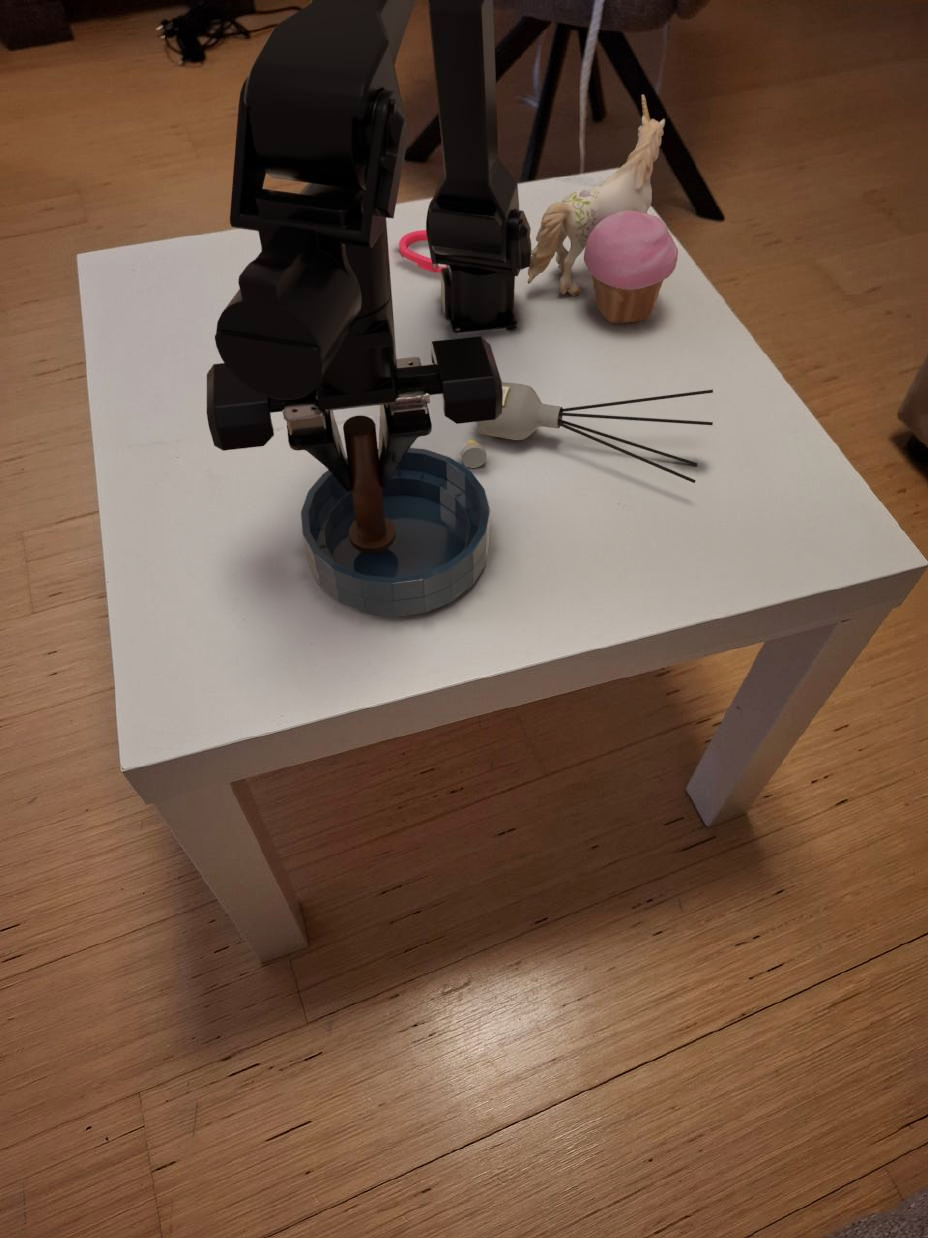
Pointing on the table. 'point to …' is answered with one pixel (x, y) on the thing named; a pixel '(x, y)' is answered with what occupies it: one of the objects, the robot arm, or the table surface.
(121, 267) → the table surface
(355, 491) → the brown collared rod
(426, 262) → the fitness band
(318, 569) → the bowl
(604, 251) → the cupcake
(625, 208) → the unicorn figurine
